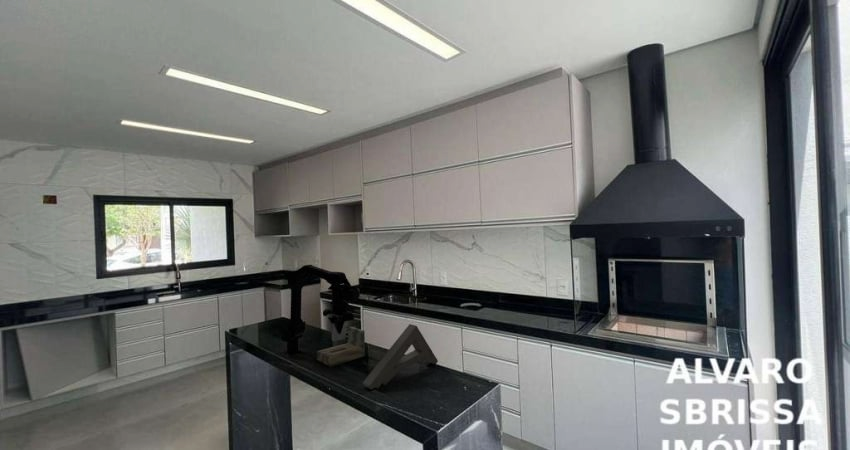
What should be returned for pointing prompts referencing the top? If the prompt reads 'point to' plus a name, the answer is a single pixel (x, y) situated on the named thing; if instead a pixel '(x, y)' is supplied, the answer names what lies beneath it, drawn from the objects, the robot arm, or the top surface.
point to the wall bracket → (400, 357)
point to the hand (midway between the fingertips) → (338, 333)
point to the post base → (345, 349)
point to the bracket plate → (335, 333)
